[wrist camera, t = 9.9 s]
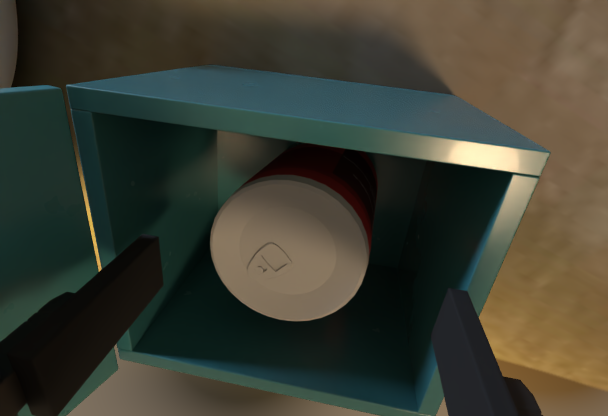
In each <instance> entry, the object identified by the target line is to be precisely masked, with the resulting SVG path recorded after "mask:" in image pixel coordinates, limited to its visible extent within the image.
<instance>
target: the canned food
mask: <svg viewBox="0 0 608 416" xmlns="http://www.w3.org/2000/svg"><path fill="white" fill-rule="evenodd" d="M377 187H378V182H377V175H376V171H375V169H374V166H373V163H372V162H371V160H370V159H369V157H368V156H367V154H366V153H365V152H364V151H358V150H351V149H344V148H337V147H330V146H323V145H316V144H309V143H302V142H296V143H295V144H294V145H292V146H291V147H289V148H288V149H287V150H286V151H284V152H283V153H282V154H281V155H279V156H278V157H277V158H275V159H274V160H273V161H272V162H270V163H269V164H268V165H267V166H265V167H264V168H263V169H262V170H260V171H259V172H258V173H257V174H255V175H254V176H253V177H252V178H250V179H249V180H248V181H247V182H245V183H244V184H243V185H242V186H241V187H240V188H239V189H238V190H236V191H235V192H234V193H233V194H232V195H231V196H230V198H229V199H228V200H227V201H226V202H225V204H224V205H223V206H222V207H221V209H220V210H219V212H218V214H217V216H216V217H215V219H214V223H213V226H212V229H211V236H210V249H211V256H212V260H213V263H214V266H215V269H216V271H217V273H218V275H219V277H220V278H221V280H222V282H223V283H224V285H225V286H226V287H227V288H228V290H229V291H230V292H231V293H232V294H233V295H234V296H235V297H236V298H237V299H238V300H240V301H241V302H242V303H243V304H245V305H247V306H248V307H250V308H251V309H253V310H255V311H257V312H259V313H261V314H263V315H266V316H269V317H272V318H276V319H279V320H287V321H309V320H313V319H318V318H322V317H324V316H327V315H329V314H332V313H334V312H336V311H337V310H338V309H340V308H341V307H343V306H344V305H346V304H347V303H348V302H349V301H350V299H351V298H352V297H353V296H354V295H355V294H356V292H357V290H358V289H359V287H360V285H361V284H362V281H363V278H364V276H365V272H366V269H367V266H368V262H369V255H370V249H371V241H372V232H373V224H374V215H375V207H376V198H377Z"/></svg>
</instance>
